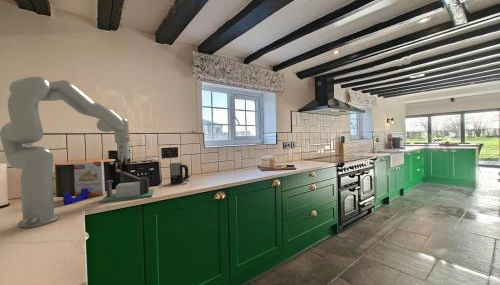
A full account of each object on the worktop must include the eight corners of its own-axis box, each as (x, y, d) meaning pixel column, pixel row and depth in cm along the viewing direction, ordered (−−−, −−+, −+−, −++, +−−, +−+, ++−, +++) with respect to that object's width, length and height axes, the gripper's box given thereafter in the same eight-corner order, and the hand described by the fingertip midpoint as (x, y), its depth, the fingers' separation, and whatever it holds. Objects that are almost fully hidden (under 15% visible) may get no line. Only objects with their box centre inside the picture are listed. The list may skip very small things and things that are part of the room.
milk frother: (169, 184, 164) (168, 164, 163) (172, 180, 179) (171, 161, 179) (189, 183, 166) (188, 162, 166) (190, 179, 182) (189, 160, 181)
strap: (143, 181, 137) (144, 179, 137) (143, 181, 134) (143, 180, 134) (116, 170, 132) (117, 168, 132) (115, 171, 129) (116, 169, 129)
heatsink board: (151, 197, 129) (150, 179, 129) (100, 203, 120) (99, 184, 120) (153, 190, 146) (152, 174, 146) (109, 195, 137) (108, 178, 137)
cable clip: (81, 198, 132) (81, 188, 132) (88, 198, 132) (87, 188, 131) (61, 204, 121) (60, 193, 120) (68, 205, 120) (67, 193, 120)
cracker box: (75, 198, 132) (73, 163, 132) (78, 196, 138) (76, 162, 137) (103, 195, 137) (101, 161, 137) (105, 193, 143) (103, 160, 142)
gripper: (127, 139, 126) (130, 172, 127) (131, 139, 140) (133, 168, 141) (111, 140, 123) (114, 174, 125) (117, 140, 138) (120, 169, 139)
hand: (124, 171), depth 133 cm, fingers closed
